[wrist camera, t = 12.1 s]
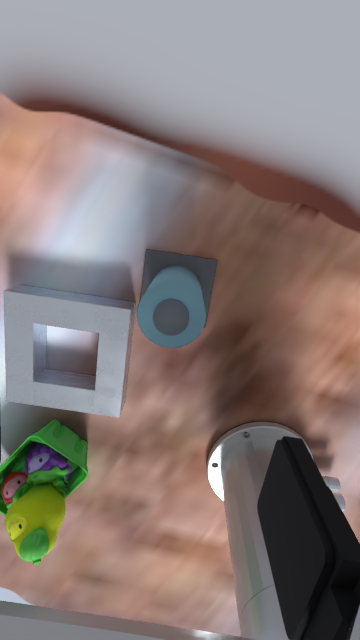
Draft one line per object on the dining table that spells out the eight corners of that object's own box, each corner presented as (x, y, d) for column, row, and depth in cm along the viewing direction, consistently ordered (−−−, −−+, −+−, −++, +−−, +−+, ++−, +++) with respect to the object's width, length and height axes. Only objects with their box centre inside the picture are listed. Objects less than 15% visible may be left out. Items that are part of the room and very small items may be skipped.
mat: (217, 259, 30) (217, 260, 30) (204, 326, 33) (205, 327, 32) (146, 249, 30) (146, 249, 30) (139, 316, 32) (138, 317, 32)
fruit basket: (52, 404, 36) (-6, 481, 25) (111, 448, 38) (80, 538, 27) (-1, 460, 39) (-74, 552, 28) (56, 499, 40) (7, 600, 30)
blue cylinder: (205, 269, 30) (212, 289, 21) (196, 317, 32) (199, 355, 23) (154, 261, 30) (139, 278, 21) (148, 310, 32) (132, 345, 23)
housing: (135, 302, 32) (130, 309, 29) (125, 401, 36) (119, 417, 33) (20, 284, 32) (3, 290, 29) (21, 386, 35) (6, 401, 33)
